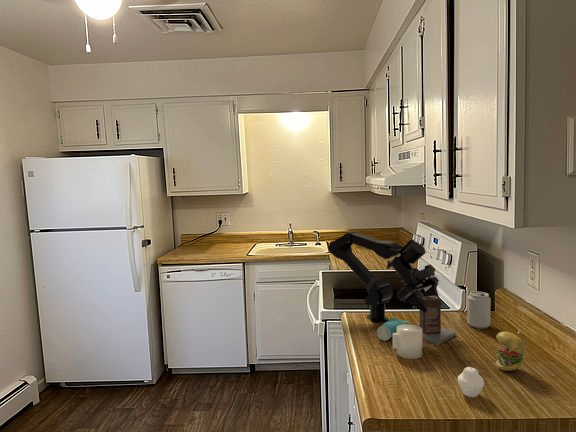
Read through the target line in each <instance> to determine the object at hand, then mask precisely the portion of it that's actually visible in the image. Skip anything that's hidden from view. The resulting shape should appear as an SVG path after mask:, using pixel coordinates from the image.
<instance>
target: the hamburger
mask: <svg viewBox="0 0 576 432" xmlns="http://www.w3.org/2000/svg"><path fill="white" fill-rule="evenodd" d="M517 334H520V328H518V330H517V333H516V334H515V333H513V332H510V331H500V332H498V333H497V334H496V336H495V338H496V339H497V341H498V343H497V344H499V347H497V348H496V350H497V354H496V356H497V360H496V363H495V365H496V366H497V368H498V369H500V370H501V371H505V372H506V371H507V372H509V371H515V370H517V369H519V368H520V367H521V366H522V365H523V361H524V356H525V353H524V352H525V351H526V345H525V343H524V341H523V340H522V338H520V337H519V336H518V335H517Z"/></svg>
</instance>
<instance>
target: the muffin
mask: <svg viewBox="0 0 576 432" xmlns="http://www.w3.org/2000/svg"><path fill="white" fill-rule="evenodd" d="M482 377H483V376H481V375H480V374H479V370H478V369H476V368H474V367H471V366H466V367H465V368H464V369H463V370H462V372H461V373H460V374H459V375H458V376H457V381H458V386H459V388H460V389H461V391H462V393H463V395H465V396H466V397H469V398H477V397H478V395H479V394H480V393H481V391H482V390H483V387H484V386H485V381H484V378H482Z"/></svg>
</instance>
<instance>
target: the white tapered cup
mask: <svg viewBox="0 0 576 432" xmlns="http://www.w3.org/2000/svg"><path fill="white" fill-rule="evenodd" d="M392 348H393V349H394V350H395V349H396V354H397V356H399V357H401V358H403V359H408V360H409V359H410V360H414V359H415V360H416V359H420V358H421V357H422V356H423V348H422V328H421V327H419V326H418V325H417V324H416V325H415V324H412V323H411V324H410V323H409V324H402V325H399V326H397V333H393V337H392Z"/></svg>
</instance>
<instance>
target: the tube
mask: <svg viewBox="0 0 576 432" xmlns="http://www.w3.org/2000/svg"><path fill="white" fill-rule="evenodd" d="M410 323H411V322H410V321H407V320H403V319H398V318H394V317H390V318H388V321H385V322H384V323H383V324H382V325H380V326H379V327H378V328H377V330H376V335H377V337H378V338H379V339H380V340H381V341H384V342H385V341H389V340H390V339H391V338H393V333H397V326H399V325H402V324H410Z"/></svg>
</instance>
